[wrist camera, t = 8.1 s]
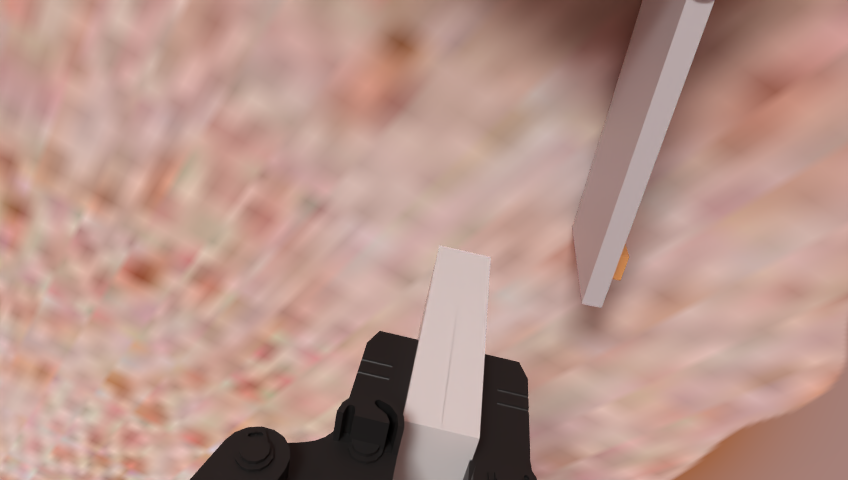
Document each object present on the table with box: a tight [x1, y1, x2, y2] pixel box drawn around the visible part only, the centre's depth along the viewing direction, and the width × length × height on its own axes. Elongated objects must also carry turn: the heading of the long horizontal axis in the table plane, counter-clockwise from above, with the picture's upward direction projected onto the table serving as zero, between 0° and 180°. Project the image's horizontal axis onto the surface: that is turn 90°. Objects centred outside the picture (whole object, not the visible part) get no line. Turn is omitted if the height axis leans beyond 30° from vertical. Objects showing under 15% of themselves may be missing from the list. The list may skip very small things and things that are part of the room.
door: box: [572, 0, 715, 308], centre depth 23 cm, size 13×2×7 cm, turn 172°
